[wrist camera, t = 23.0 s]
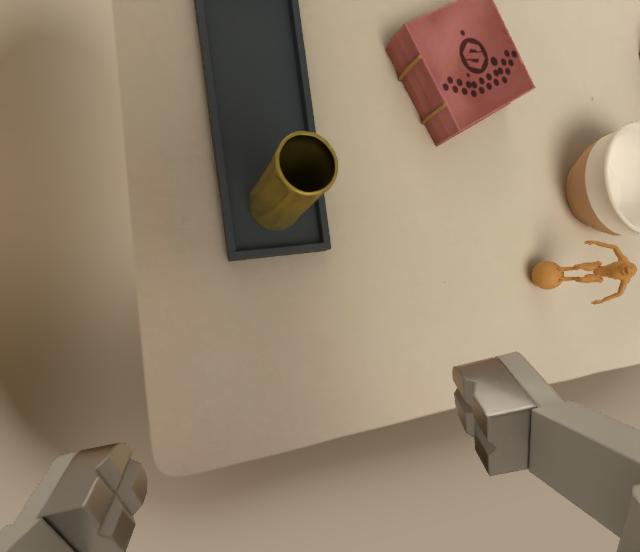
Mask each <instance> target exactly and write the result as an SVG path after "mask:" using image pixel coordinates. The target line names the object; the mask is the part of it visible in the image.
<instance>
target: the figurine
mask: <svg viewBox="0 0 640 552" xmlns="http://www.w3.org/2000/svg"><path fill="white" fill-rule="evenodd" d="M586 242H588V243H585V244H589V243H591V244H596V245H599V246H602V247H607V248H612V249H613V250H614V252H615V254H616V256H617V257H618V261H617V262H614V263H611V264H609V265H607V266H602V267H601V266H600V265H601V264H602V263H601V262H600V261H597V262H593V263H582V264H578V265H574V267H560V266H559V265H558V264H556V263H554V262H549V261H546V262H541V263H539V264H537V265H536V266H535V267H534V268H533V270H532V273H531V278H532V281H533V282H534V284H535V285H536V286H538V287H540V288H542V289H553V288H555V287H557V286H559V285H560V284H561V283H562V282H563V281H571V280H575V281H576V282H583V283H590V282H602V281H603V278H601V277H609V278H613V279H619V280H621V283H620V286H619V289H618V293H615V294H613V295H610V296H608V297H605V298H604V299H602V300H601V301H599V300H595V301H594V303H592V304H599V303H603V302H605V301H608V300H610V299H612V298H615V297H618V296H621V295H622V294H623V292H624V290H625V288H626V286H627V284H628V283H629V281H630V278H631V277H632V276H633V275H635V274H636V272H637V268H636V266H635V265H634V264H633V263H630V262H629V261H628V259H627V258H626V257H625V256H624V255H623V254H622V252H621V251H620V249H619V248H618V247H617V246H615V245H610V244H605V243H602V242H597V241H586ZM591 244H589V245H591ZM578 269H583V270H585V271H591V270H594V271H593V273H594V275H593V274H588V275H585V276H584V277H582V278H580V277H564V272H563V271H568V270H578Z"/></svg>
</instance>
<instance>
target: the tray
mask: <svg viewBox="0 0 640 552" xmlns="http://www.w3.org/2000/svg"><path fill="white" fill-rule="evenodd" d="M194 2H195V9H196V17H197V25H198V32H199V40H200V47H201V55H202V63H203V70H204V78H205V85H206V93H207V101H208V108H209V116H210V123H211V131H212V139H213V146H214V154H215V161H216V169H217V177H218V184H219V192H220V199H221V207H222V215H223V222H224V230H225V237H226V245H227V253H228V260H229V261H237V260H246V259H255V258H265V257H274V256H283V255H292V254H301V253H310V252H319V251H326V250H329V249H331V243H330V235H329V228H328V220H327V213H326V206H325V198H324V194H323V195H322V196H320V197H319V198H318V199H317V200H316V201H315V202H314V203H313V204H312V205H311V206H310V207H309V208H308V209H307V210H306V211H305V212H304V213H303V214H301V215H300V216H299V218H298V219H297V221H296V222H295V223H294V224H293V225H292V226H290V227H289V228H287V229H284V230H279V231H273V230H269V229H266V228H264V227H262V226H261V225H259V224H258V223H257V222H256V221H255V219H254V218H253V216H252V215H251V213H250V210H249V195H250V193H251V191H252V189H253V188H254V186H255V185H256V184H257V183H258V181H259V179H260V178H261V176H262V175H263V173H264V171H265V170H266V168H267V167H268V165H269V163H270V162H271V160H272V158H273V156H274V154H275V152H276V150H277V148H278V146H279V144H280V142H281V141H282V140H283V139H284V138H285V137H286V136H288V135H290V134H291V133H294V132H297V131H307V132H313V133H316V131H315V123H314V116H313V108H312V101H311V93H310V86H309V78H308V71H307V63H306V56H305V49H304V41H303V34H302V26H301V19H300V11H299V4H298V0H194Z"/></svg>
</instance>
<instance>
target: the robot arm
mask: <svg viewBox="0 0 640 552" xmlns="http://www.w3.org/2000/svg"><path fill="white" fill-rule="evenodd" d="M452 374H453V381H454V382H455V384H456V386H457V390H456V391H455V393H454V397H455V404H456V408H457V412H458V415H459V418H460V420H461V422H462V425H463V427H464V429H465V431H466V433H467V434H469V435H471V436H473V437H474V438H475V450H476V452H477V454H478V456H479V457H480V459H481V461H482V463H483V465H484V467H485V469H486V471H487V472H488V474H489V476H493V475H498V474H503V473H509V472H514V471H519V470H524V469H529V471H530V472H531V473H532V474H534V475H535V476H537V477H538V478H539V479H541V480H542V481H543V482H545V483H546V484H547V485H549V486H550V487H552V488H553V489H554V490H556V491H557V492H558V493H560V494H561V495H563V496H564V497H565V498H567V499H568V500H569V501H571V502H572V503H573V504H575V505H576V506H578V507H579V508H580V509H582V510H583V511H584V512H586V513H587V514H588V515H590V516H591V517H592V518H594V519H596V520H597V521H598V522H599V523H601V524H602V525H603V526H605V527H606V528H608V529H609V530H610V531H612V532H613V533H614V534H616V535H617V536H618V537H620V541H619V545H618V549H617V552H640V430H638V429H636V428H634V427H631V426H629V425H627V424H624V423H622V422H620V421H618V420H615V419H613V418H611V417H608V416H606V415H604V414H601V413H599V412H597V411H595V410H592V409H590V408H588V407H585V406H583V405H581V404H578V403H576V402H574V401H566V402H564V401H563V400H562V399H561V397H560V396H559V395H558V394H557V393H556V392H555V391H554V390H553V389H552V388H551V386H550V385H549V384H548V383H547V382H546V381H545V380H544V379H543V378H542V376H541V375H540V374H539V373H538V372H537V371H536V370H535V369H534V368H533V367H532V365H531V364H530V363H529V362H528V361H527V360H526V359H525V358H524V357H523V356H522V354H520V353H518V352H513V353H509V354H504V355H500V356H496V357H495V358H494V357H492V358H488V359H484V360H480V361H475V362H471V363H467V364H463V365H459V366H454V367H453V370H452ZM131 455H132V451H131V449H130V448H129V447H128V445H127V444H126V443H116V444H111V445H106V446H101V447H96V448H91V449H86V450H81V451H78V452H74V453H68V454H63V455H61V456H59V457H58V458H57V459H55V460H54V461H53V463H52V465H51V466H50V468H49V469H48V471H47V472H46V474H45V475H44V477H43V478H42V480H41V481H40V483H39V484H38V486H37V487H36V489H35V491H34V492H33V494H32V495H31V497H30V498H29V500H28V501H27V503H26V504H25V506H24V508H23V509H22V511H21V512H20V514H19V515H18V517H17V518H16V520H15V521H14V523H13V524H11V525H7V526H5V527H4V528H3V529H2V530H1V531H0V552H126V549H127V546H128V544H129V541H130V538H131V535H132V533H133V530H134V527H135V521H134V518H133V515H134V514H135V513H136V511H137V510H138V509H139V508H140V507H141V506H142V504H143V502H144V499H145V495H146V493H147V477H146V473H145V470H144V468H143V467H142V465H141V464H140V463H138V462H136V461H134V460H132V459H131Z"/></svg>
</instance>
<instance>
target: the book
mask: <svg viewBox="0 0 640 552" xmlns="http://www.w3.org/2000/svg"><path fill="white" fill-rule="evenodd" d="M386 52H387V54H388V55H389V57H390V59H391V61H392V63H393V65H394V67H395V69H396V71H397V73H398V74H399V78H398V80H399V81H401V80H402V82H403V84H404V86H405V88H406V90H407V91H408V93H409V95H410V97H411V99H412V101H413V103H414V105H415V107H416V109H417V110H418V112H419V114H420V116H421V118H422V121H421V124H425V126H426V128H427V129H428V131H429V133H430V135H431V137H432V139H433V141H434V143H435V145H436V146H438V145H440V144H442V143H444V142H445V141H447V140H449V139H450V138H452V137H454V136H455V135H457V134H459V133H461V132H462V131H464V130H466V129H467V128H469V127H471V126H473V125H474V124H476V123H478V122H479V121H481V120H483V119H485V118H486V117H488V116H490V115H491V114H493V113H495V112H496V111H498V110H500V109H502V108H503V107H505V106H507V105H508V104H510V102H512V101H514V100H515V99H517V98H519V97H520V96H522V95H524V94H526V93H527V92H529V91H531V90H532V89H534V88H535V86H534V84H533V82H532V80H531V78H530V76H529V74H528V71H527V69H526V67H525V65H524V63H523V61H522V59H521V57H520V55H519V53H518V51H517V49H516V47H515V44H514V42H513V40H512V38H511V36H510V34H509V32H508V30H507V28H506V26H505V24H504V22H503V20H502V18H501V15H500V13H499V11H498V9H497V7H496V5H495V3H494V1H493V0H457V1H455V2H453V3H450V4H448V5H446V6H443V7H441V8H439V9H437V10H434V11H432V12H430V13H428V14H425V15H423V16H421V17H419V18H416V19H414V20H412V21H410V22H407V23H405V24H404V25H403V26H402V27H401V29H400V30H399V31H398V32H397V33H396V34H395V35H394V37H393V38H392V39H391V41H390V42H389V44H388V46H387V48H386Z"/></svg>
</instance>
